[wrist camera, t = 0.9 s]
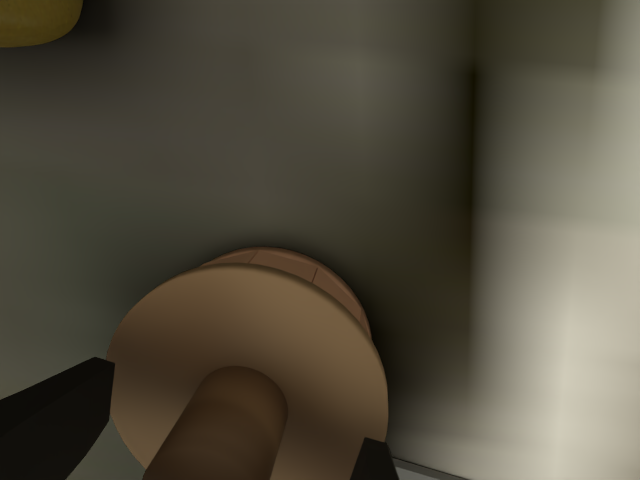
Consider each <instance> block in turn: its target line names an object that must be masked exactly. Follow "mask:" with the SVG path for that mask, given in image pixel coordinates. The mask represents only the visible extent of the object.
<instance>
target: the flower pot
mask: <svg viewBox="0 0 640 480" xmlns="http://www.w3.org/2000/svg"><path fill="white" fill-rule="evenodd" d="M82 5H83V0H0V47H22V46H33V45H39V44H44V43H48V42H51V41H53V40H56V39H58V38H60V37H62V36H64V35H65V34H67V33H68V32H69V31H70V30H71V29H72V28H73V27H74V26H75V24H76V23H77V21H78V19H79V16H80V13H81V9H82Z"/></svg>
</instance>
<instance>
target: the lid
mask: <svg viewBox="0 0 640 480" xmlns="http://www.w3.org/2000/svg"><path fill="white" fill-rule="evenodd" d="M106 360H107V361H111V362H114V363H115V370H114V379H113V388H112V397H111V407H110V414H111V416H112V419H113V421H114V424H115V426H116V429H117V430H118V432H119V434H120V436H121V438H122V439H123V441H124V443H125V444H126V446H127V447H128V449H129V450H130V451H131V453H132V454H133V456H134V457H135V458H136V459H137V460H138V461H139V462H140V464H141V465H142V466H143V467H144V468H145V469H146V471H145V473H144V475H143V479H142V480H350V477H351V475H352V472H353V469H354V466H355V463H356V460H357V458H358V455H359V452H360V449H361V446H362V443H363V441H364V438H365V437H367V438H371V439H374V440H378V441H381V442H384V441H385V437H386V434H387V426H388V393H387V382H386V377H385V372H384V368H383V365H382V362H381V359H380V357H379V354H378V351H377V349H376V348H375V346H374V344H373V342H372V340H371V338H370V336H369V335H368V333H367V332H366V331H365V329H364V328H363V326H362V325H361V324H360V322H359V321H358V320H357V319H356V318H355V317H354V316H353V314H352V313H351V312H350V311H349V310H348V309H347V308H346V307H345V306H344V305H343V304H341V303H340V302H339V301H338V300H337V299H335V298H334V297H333V296H332V295H331V294H329V293H328V292H326V291H324V290H323V289H321V288H320V287H318V286H317V285H315V284H313V283H311V282H309V281H307V280H305V279H303V278H301V277H299V276H297V275H295V274H292V273H289V272H286V271H283V270H280V269H277V268H273V267H268V266H264V265H259V264H250V263H239V262H236V263H217V264H211V265H205V266H200V267H197V268H194V269H190V270H187V271H184V272H182V273H180V274H178V275H176V276H174V277H172V278H169V279H168V280H166V281H165V282H163V283H162V284H160V285H159V286H157V287H156V288H154V289H153V290H152V291H151V292H150V293H148V294H147V295H146V296H145V297H144V298H142V299H141V300H140V301H139V302H138V303H137V304H136V305H135V306H134V307H133V308H132V309H131V310H130V311H129V312H128V313H127V315H126V316H125V317H124V319H123V320H122V321H121V322H120V324H119V326H118V328H117V330H116V332H115V333H114V335H113V337H112V340H111V343H110V346H109V349H108V352H107V357H106Z"/></svg>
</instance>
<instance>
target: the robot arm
mask: <svg viewBox="0 0 640 480" xmlns="http://www.w3.org/2000/svg"><path fill="white" fill-rule="evenodd" d="M114 370H115V363H114V362H111V361H107V360H104V359H100V358H97V357H93V358H91V359H89V360H87V361H84V362H82V363H80V364H78V365H76V366H74V367H72V368H69V369H67V370H65V371H63V372H61V373H59V374H57V375H55V376H53V377H50V378H48V379H46V380H44V381H42V382H40V383H37V384H35V385H33V386H31V387H29V388H27V389H24V390H22V391H20V392H18V393H15V394H13V395H11V396H8V397H6V398H4V399H1V400H0V480H65V479H66V478H67V477H68V476H69V475H70V473H71V472H72V471H73V470H74V469H75V468H76V466H77V465H78V464H79V463H80V462H81V460H82V459H83V458H84V457H85V456H86V454H87V453H88V451H89V450H90V448H91V447H92V446H93V444H94V443H95V441H96V440H97V438H98V437H99V435H100V434H101V432H102V431H103V429H104V428H105V426H106V425H107V423H108V421H109V416H110V407H111V397H112V388H113V379H114ZM350 480H400V479H399V476H398V473H397V471H396V468H395V465H394V462H393V458H392V455H391V452H390V449H389V446H388V445H387V443H384V442H381V441H378V440H374V439H371V438H367V437H365V438H364V441H363V443H362V446H361V449H360V452H359V455H358V458H357V460H356V463H355V466H354V469H353V472H352V475H351V477H350Z"/></svg>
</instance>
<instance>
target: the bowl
mask: <svg viewBox="0 0 640 480" xmlns="http://www.w3.org/2000/svg"><path fill="white" fill-rule="evenodd" d="M236 262H239V263H250V264H259V265H264V266H268V267H273V268H277V269H280V270H283V271H286V272H289V273H292V274H295V275H297V276H299V277H301V278H303V279H305V280H307V281H309V282H311V283H313V284H315V285H317V286H318V287H320V288H321V289H323V290H324V291H326V292H328V293H329V294H331V295H332V296H333V297H334V298H335V299H337V300H338V301H339V302H340V303H341V304H343V305H344V306H345V307H346V308H347V309H348V310H349V311H350V312H351V313H352V314H353V316H354V317H355V318H356V319H357V320H358V321H359V322H360V324H361V325H362V326H363V328H364V329H365V331H366V332H367V333H368V335H369V336H370V338H371V340H372V336H371V331H370V326H369V322H368V319H367V316H366V314H365V311H364V309H363V307H362V305H361V303H360V301H359V299H358V298H357V297H356V295H355V294H354V292H353V291H352V289H351V288H350V287H349V286H348V285H347V284H346V283H345V282H344V281H343V279H342V278H340V277H339V276H338V275H337V274H336V273H335V272H333V271H332V270H331V269H329V268H328V267H326V266H325V265H323V264H322V263H320V262H319V261H317V260H315V259H313V258H311V257H308V256H306V255H304V254H301V253H298V252H295V251H292V250H287V249H282V248H276V247H249V248H243V249H238V250H235V251H231V252H228V253H225V254H223V255H221V256H219V257H217V258H215V259H213V260H212V261H210V262H207V263H204V264H202V265H201V266H205V265H211V264H217V263H236Z"/></svg>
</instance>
